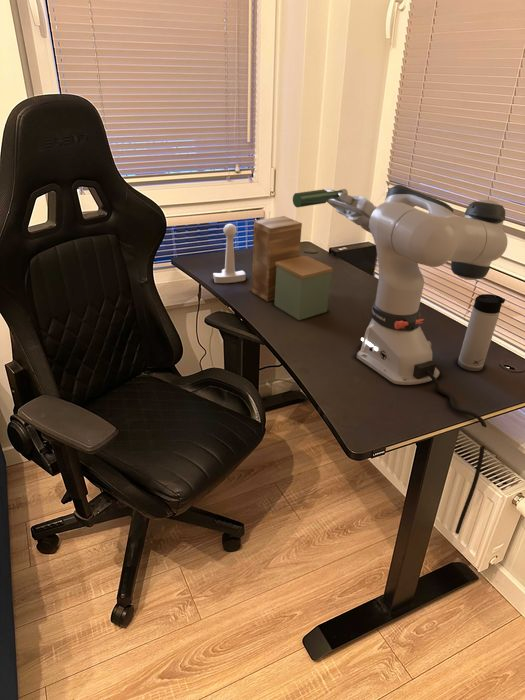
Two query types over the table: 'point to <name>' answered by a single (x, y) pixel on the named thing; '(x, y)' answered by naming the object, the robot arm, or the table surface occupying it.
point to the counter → (302, 286)
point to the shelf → (272, 251)
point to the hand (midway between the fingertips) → (335, 193)
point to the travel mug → (480, 331)
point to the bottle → (315, 197)
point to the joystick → (229, 260)
